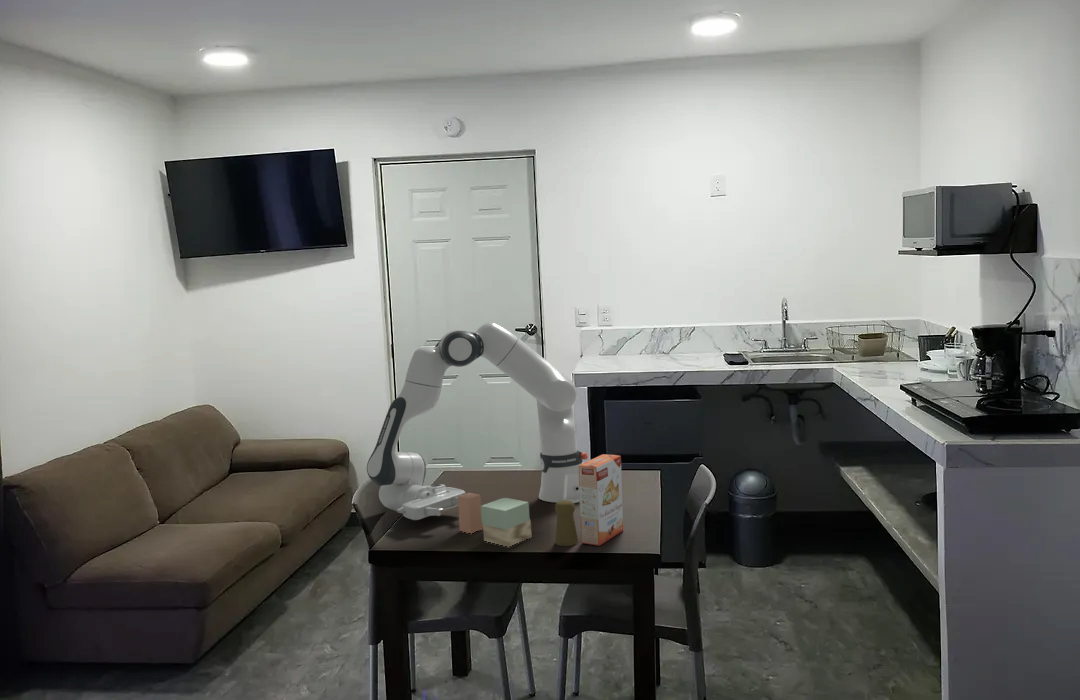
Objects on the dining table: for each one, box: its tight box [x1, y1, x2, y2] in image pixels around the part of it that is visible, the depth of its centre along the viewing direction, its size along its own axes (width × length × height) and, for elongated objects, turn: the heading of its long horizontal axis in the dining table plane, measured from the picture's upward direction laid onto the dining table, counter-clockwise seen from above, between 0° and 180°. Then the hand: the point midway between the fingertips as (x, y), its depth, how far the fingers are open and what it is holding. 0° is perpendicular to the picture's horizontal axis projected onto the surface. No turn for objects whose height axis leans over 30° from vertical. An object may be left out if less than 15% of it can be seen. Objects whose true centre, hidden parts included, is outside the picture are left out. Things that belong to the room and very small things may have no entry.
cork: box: [554, 500, 579, 547], centre depth 219 cm, size 6×6×11 cm
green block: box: [481, 497, 531, 530], centre depth 224 cm, size 9×9×5 cm
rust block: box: [457, 492, 483, 535], centre depth 234 cm, size 4×4×10 cm
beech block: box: [482, 519, 533, 548], centre depth 225 cm, size 9×9×5 cm
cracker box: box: [578, 453, 624, 547], centre depth 221 cm, size 14×6×21 cm, turn 148°
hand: (453, 508), depth 238 cm, fingers open, 8 cm apart
